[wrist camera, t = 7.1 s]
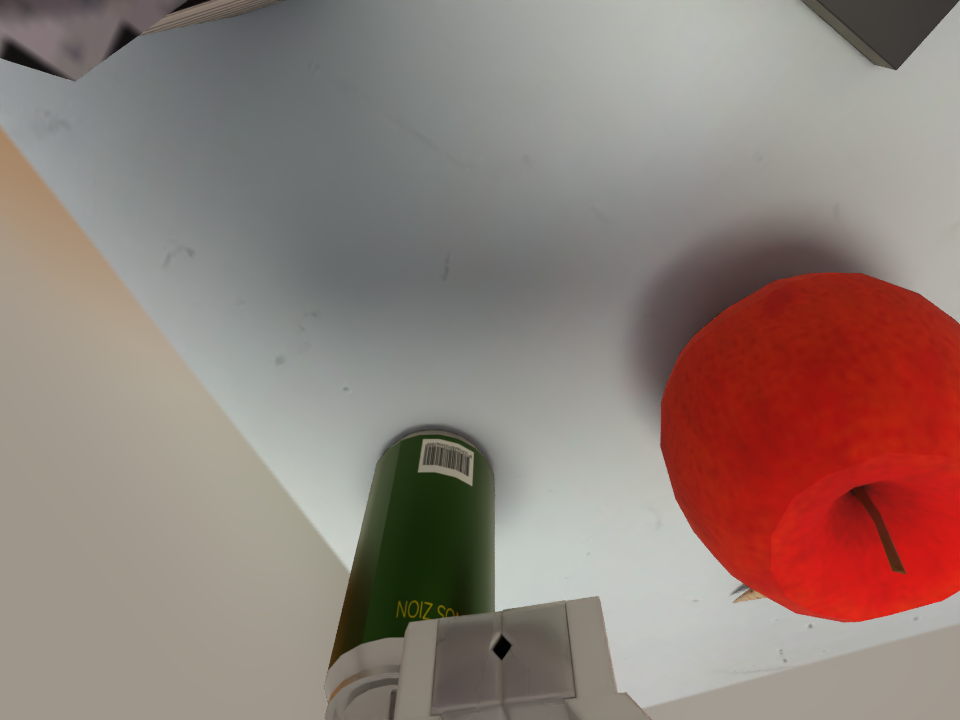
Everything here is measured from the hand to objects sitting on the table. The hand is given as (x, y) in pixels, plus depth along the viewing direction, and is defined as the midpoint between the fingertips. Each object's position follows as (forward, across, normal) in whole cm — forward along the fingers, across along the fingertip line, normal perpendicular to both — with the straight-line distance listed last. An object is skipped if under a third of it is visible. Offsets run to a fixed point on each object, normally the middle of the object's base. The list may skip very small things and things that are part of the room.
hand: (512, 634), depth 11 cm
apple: (+18, -9, +6) cm, 21 cm away
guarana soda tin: (+18, +5, +10) cm, 21 cm away
